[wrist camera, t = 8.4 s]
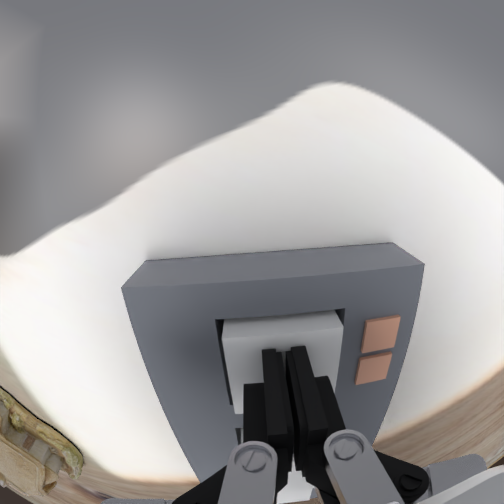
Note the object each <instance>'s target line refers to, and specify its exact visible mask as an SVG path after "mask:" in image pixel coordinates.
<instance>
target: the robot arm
mask: <svg viewBox="0 0 504 504" xmlns="http://www.w3.org/2000/svg"><path fill="white" fill-rule="evenodd" d="M262 364H263V379H264V383H249V384H244V386H243V443H242V444H240V445H238V446H236V447H235V448H234V449H233V450H232V452H231V454H230V456H229V460H228V464H227V465H226V466H224V467H223V468H222V469H220V470H219V471H218V472H216V473H215V474H213V475H212V476H210V477H209V478H208V479H206V480H205V481H203V482H202V483H200V484H199V485H197V486H196V487H194V488H193V489H191V490H189V491H188V492H186V493H185V494H183V495H181V496H180V497H178V498H177V499H176V500H164V499H116V498H112V499H107V500H105V501H103V502H102V503H101V504H277V497H278V492H279V491H281V490H282V489H283V488H284V487H285V486H286V485H287V484H288V472H292V460H293V455H294V462H295V469H296V471H301V472H302V477H305V479H306V482H307V483H309V484H311V485H313V486H314V488H315V491H316V494H317V497H318V499H319V502H320V504H504V465H501V466H497V467H494V468H491V469H488V470H487V467H486V463H485V461H484V459H483V458H482V457H481V456H480V455H477V454H469V455H466V456H462V457H459V458H455V459H451V460H447V461H443V462H439V463H434V464H429V465H428V466H427V467H423V468H421V467H419V466H416V465H413V464H410V463H407V462H404V461H402V460H399V459H396V458H393V457H391V456H388V455H385V454H383V453H380V452H378V451H375V450H373V448H372V446H371V445H370V443H369V441H368V439H367V438H366V437H365V436H364V435H363V434H361V433H360V432H358V431H354V430H346V427H345V424H344V421H343V418H342V415H341V412H340V409H339V406H338V403H337V400H336V397H335V394H334V391H333V388H332V385H331V382H330V379H329V377H328V376H320V377H314V374H313V370H312V367H311V363H310V360H309V356H308V353H307V349H306V346H296V347H291V351H286V375H285V369H284V363H283V357H282V352H276V349H262Z"/></svg>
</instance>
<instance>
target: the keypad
mask: <svg viewBox="0 0 504 504" xmlns="http://www.w3.org/2000/svg"><path fill="white" fill-rule="evenodd" d="M424 265H425V264H424V263H423V262H421V261H420V260H418V259H417V258H415V257H414V256H412V255H411V254H409V253H408V252H406V251H405V250H403V249H402V248H400V247H399V246H397V245H395V244H394V243H382V244H368V245H355V246H342V247H328V248H314V249H301V250H287V251H274V252H260V253H246V254H233V255H219V256H205V257H191V258H178V259H164V260H150V261H145V262H144V263H143V264H142V265H141V266H140V267H139V268H138V270H137V271H136V272H135V273H134V274H133V275H132V276H131V277H130V278H129V279H128V280H127V282H126V283H125V284H124V285H123V286H122V287H121V289H122V293H123V297H124V300H125V304H126V307H127V311H128V314H129V318H130V321H131V324H132V328H133V331H134V334H135V337H136V340H137V343H138V346H139V349H140V352H141V355H142V358H143V360H144V363H145V366H146V369H147V371H148V374H149V376H150V379H151V382H152V384H153V387H154V389H155V392H156V394H157V396H158V399H159V401H160V403H161V406H162V408H163V410H164V413H165V415H166V417H167V419H168V421H169V424H170V426H171V428H172V430H173V432H174V434H175V436H176V438H177V440H178V442H179V444H180V446H181V448H182V450H183V452H184V454H185V456H186V458H187V460H188V462H189V463H190V465H191V467H192V469H193V471H194V472H195V474H196V476H197V478H198V479H199V481H200V483H202V482H203V481H205V480H206V479H208V478H209V477H210V476H212V475H213V474H215V473H216V472H218V471H219V470H220V469H222V468H223V467H224V466H226V465H227V464H228V460H229V456H230V454H231V452H232V450H233V449H234V448H235V447H236V446H238V445H240V444H241V428H243V414H235V411H234V405H233V400H232V395H231V389H230V384H229V378H228V372H227V367H226V361H225V355H224V349H223V342H222V333H223V325H224V319H232V318H248V317H262V316H275V315H287V314H297V313H307V312H317V311H326V310H335V312H336V314H337V316H338V317H339V319H340V321H341V323H342V325H343V327H344V328H343V337H342V345H341V353H340V361H339V368H338V374H337V381H336V387H335V393H334V394H335V397H336V400H337V403H338V406H339V409H340V412H341V415H342V418H343V421H344V424H345V427H346V430H354V431H358V432H360V433H361V434H363V435H364V436H365V437H366V438H367V439H368V441H369V443H370V445H371V446H372V444H373V442H374V440H375V438H376V435H377V433H378V431H379V429H380V426H381V424H382V421H383V419H384V416H385V414H386V411H387V409H388V406H389V404H390V401H391V398H392V395H393V393H394V390H395V387H396V384H397V381H398V378H399V375H400V372H401V369H402V365H403V362H404V359H405V355H406V352H407V348H408V344H409V340H410V337H411V333H412V328H413V324H414V320H415V315H416V311H417V306H418V301H419V296H420V290H421V285H422V278H423V272H424ZM310 498H317V494H316V491H315V488H313V489H312V492H311V496H310Z"/></svg>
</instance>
